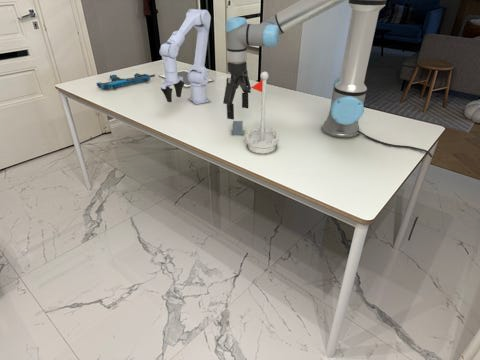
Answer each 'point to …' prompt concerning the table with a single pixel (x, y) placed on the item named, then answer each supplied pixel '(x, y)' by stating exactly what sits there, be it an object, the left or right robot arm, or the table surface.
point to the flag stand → (262, 125)
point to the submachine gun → (124, 81)
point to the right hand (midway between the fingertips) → (238, 113)
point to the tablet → (185, 77)
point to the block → (237, 127)
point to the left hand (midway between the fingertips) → (174, 99)
